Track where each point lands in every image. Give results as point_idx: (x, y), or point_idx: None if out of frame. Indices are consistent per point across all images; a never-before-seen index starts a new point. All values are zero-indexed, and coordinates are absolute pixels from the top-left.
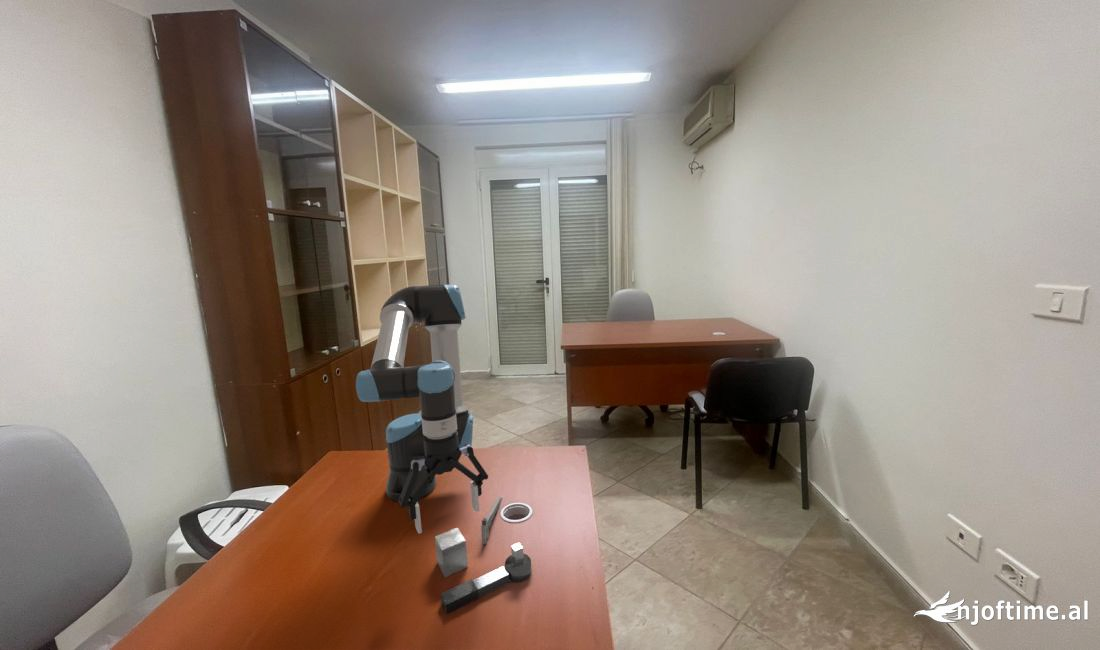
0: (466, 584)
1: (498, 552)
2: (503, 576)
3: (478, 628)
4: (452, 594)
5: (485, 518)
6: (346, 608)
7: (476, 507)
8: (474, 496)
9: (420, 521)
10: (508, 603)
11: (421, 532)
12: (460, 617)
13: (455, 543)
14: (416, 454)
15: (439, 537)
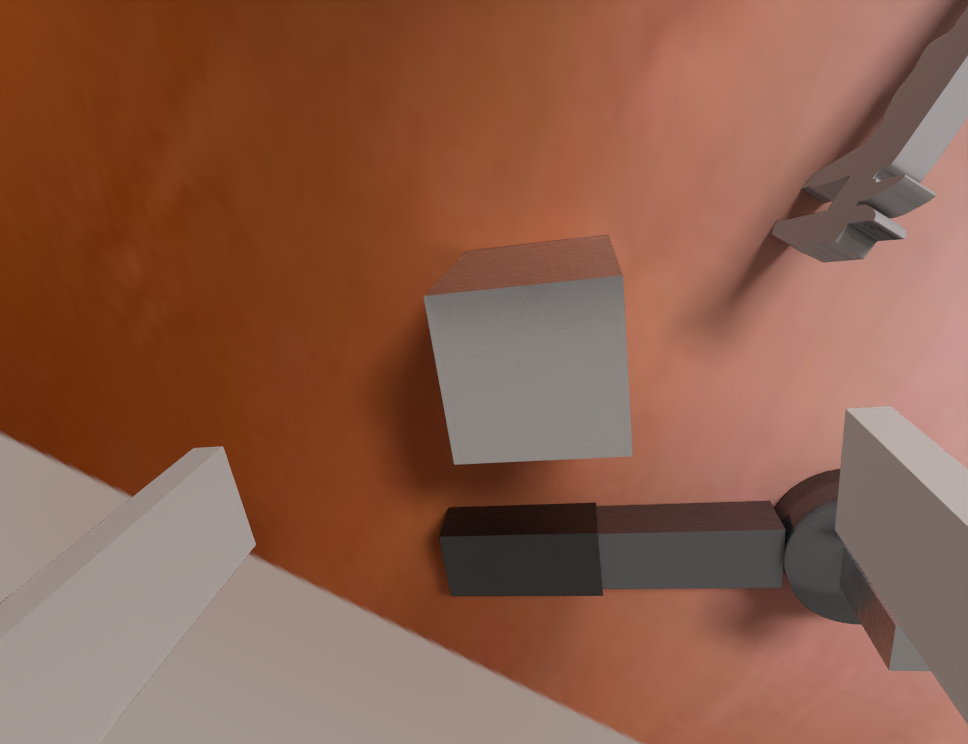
0: (561, 549)
1: (827, 347)
2: (747, 586)
3: (555, 663)
4: (487, 564)
5: (922, 189)
6: (63, 340)
7: (866, 570)
8: (952, 668)
9: (183, 631)
10: (703, 637)
11: (251, 545)
12: (506, 599)
13: (554, 447)
14: None
15: (455, 327)
